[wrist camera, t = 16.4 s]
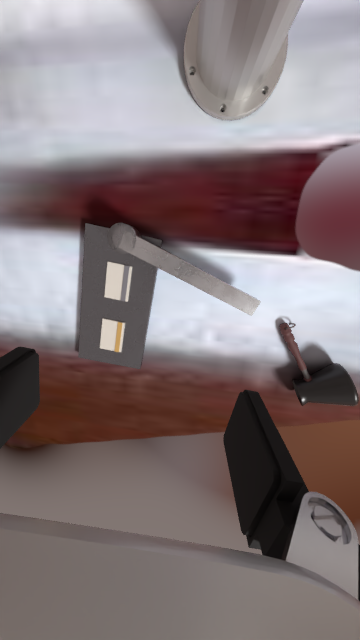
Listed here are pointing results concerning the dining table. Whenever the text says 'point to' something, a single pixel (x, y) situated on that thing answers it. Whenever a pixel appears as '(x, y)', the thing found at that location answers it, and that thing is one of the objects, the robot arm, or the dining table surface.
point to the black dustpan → (320, 379)
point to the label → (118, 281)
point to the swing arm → (177, 267)
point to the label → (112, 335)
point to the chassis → (114, 300)
